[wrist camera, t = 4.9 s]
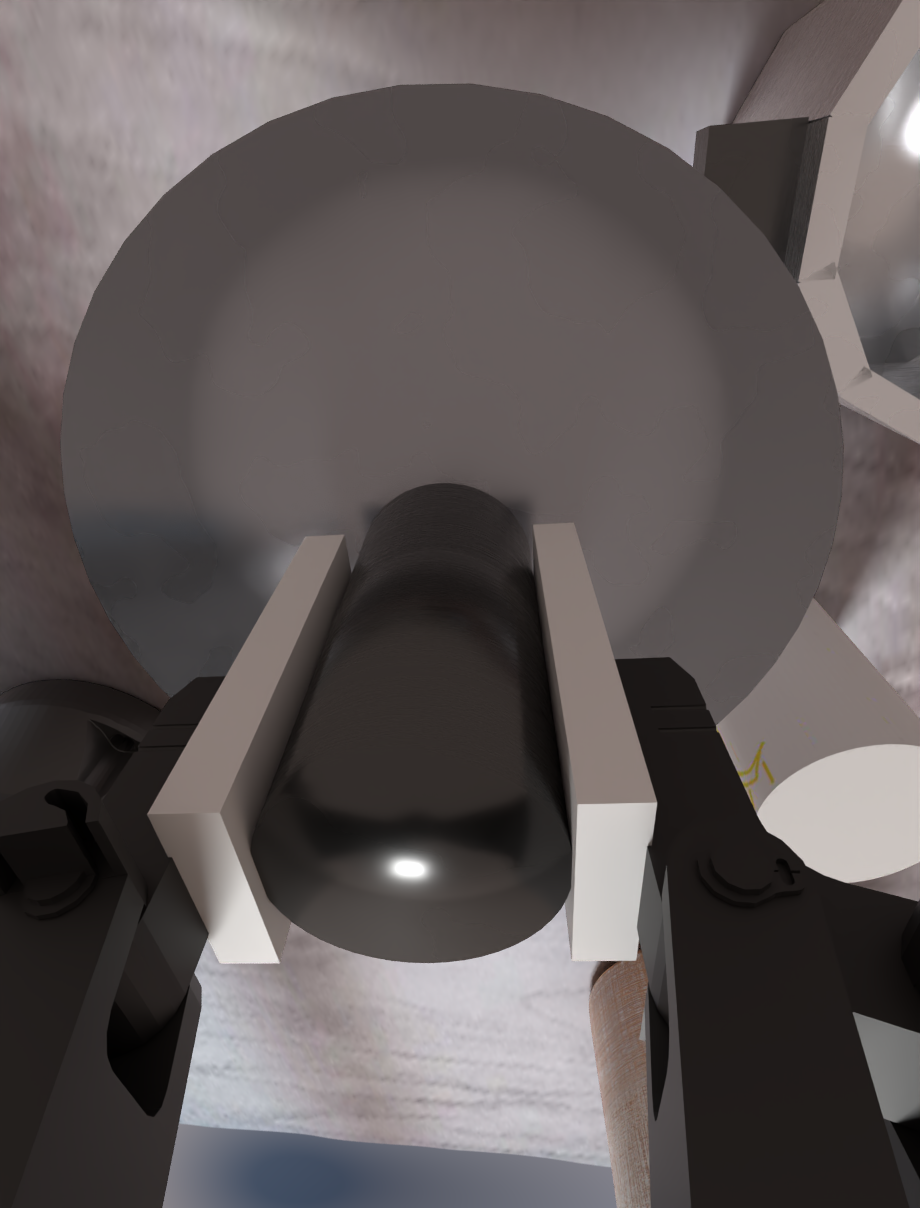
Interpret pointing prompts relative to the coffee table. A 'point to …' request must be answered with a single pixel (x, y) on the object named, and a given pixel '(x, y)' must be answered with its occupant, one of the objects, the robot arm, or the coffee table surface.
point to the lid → (446, 469)
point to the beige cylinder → (830, 756)
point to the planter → (623, 1076)
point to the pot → (841, 190)
